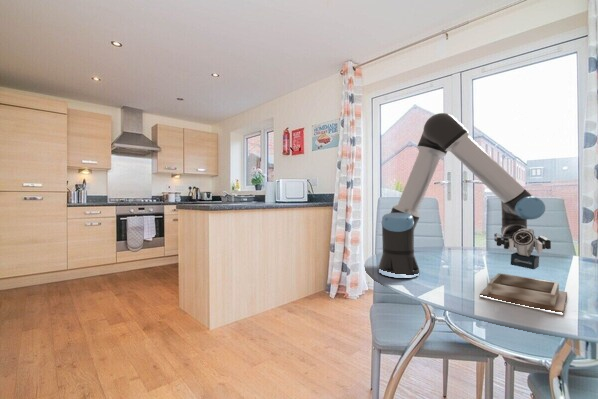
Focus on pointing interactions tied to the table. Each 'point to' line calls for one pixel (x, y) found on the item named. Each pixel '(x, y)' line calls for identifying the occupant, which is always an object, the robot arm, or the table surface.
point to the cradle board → (526, 292)
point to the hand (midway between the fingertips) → (525, 247)
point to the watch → (524, 249)
